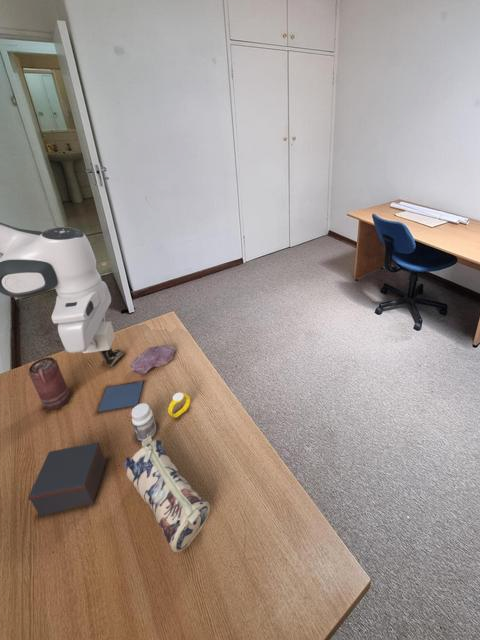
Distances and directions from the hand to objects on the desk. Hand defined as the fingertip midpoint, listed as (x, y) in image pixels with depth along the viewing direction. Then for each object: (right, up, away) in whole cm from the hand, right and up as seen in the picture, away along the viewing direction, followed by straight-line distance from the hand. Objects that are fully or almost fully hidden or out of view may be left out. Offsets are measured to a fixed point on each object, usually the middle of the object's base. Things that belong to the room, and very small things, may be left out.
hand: (97, 339), depth 82 cm
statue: (-9, -14, +24) cm, 29 cm away
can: (-17, -21, +10) cm, 29 cm away
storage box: (+1, -30, -10) cm, 31 cm away
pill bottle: (+11, -25, +2) cm, 27 cm away
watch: (+18, -22, +7) cm, 30 cm away
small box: (0, -1, +1) cm, 2 cm away
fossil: (+4, -15, +23) cm, 28 cm away
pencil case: (+23, -31, -12) cm, 41 cm away
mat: (0, -20, +12) cm, 23 cm away
